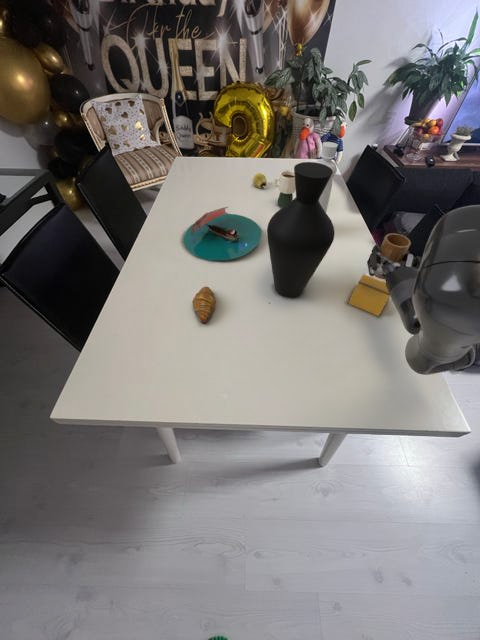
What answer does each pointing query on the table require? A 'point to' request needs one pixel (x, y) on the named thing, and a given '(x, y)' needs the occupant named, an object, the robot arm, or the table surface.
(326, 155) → the bottle
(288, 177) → the character mug
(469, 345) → the robot arm
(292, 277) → the vase
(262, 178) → the fruit
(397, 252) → the cup
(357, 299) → the box
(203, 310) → the croissant
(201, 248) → the boat on round base
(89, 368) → the table surface
